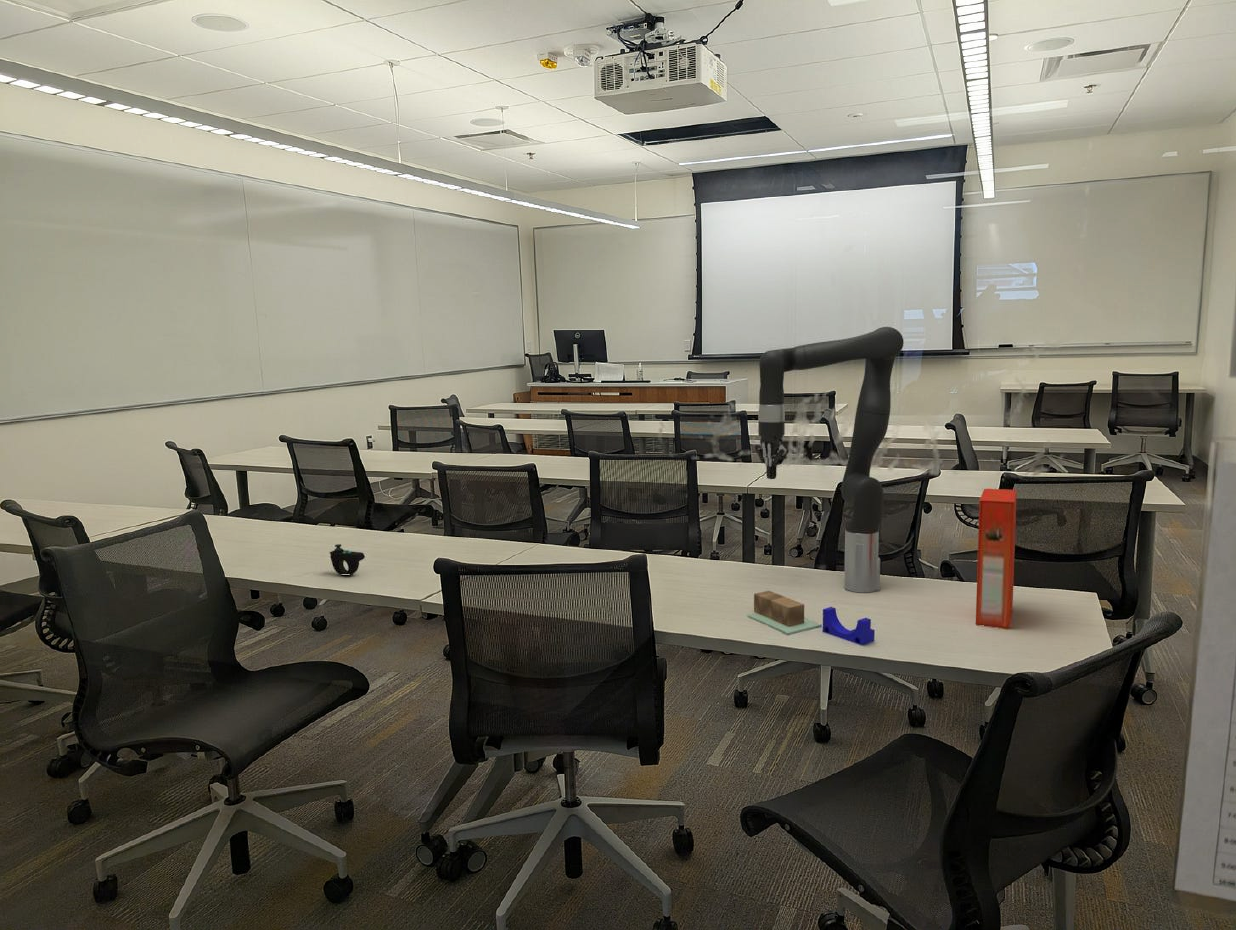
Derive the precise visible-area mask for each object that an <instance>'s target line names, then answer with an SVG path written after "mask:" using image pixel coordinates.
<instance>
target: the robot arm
mask: <svg viewBox="0 0 1236 930" xmlns="http://www.w3.org/2000/svg"><path fill="white" fill-rule="evenodd" d="M904 341H905V340H904V337H903V335H902V333H901V332H900V331H899V330H897V329H896V328H894V327H892V326H882V327H879V328H877V329H875V330H873V331H870V332H867V333H863V334H860V335H858V336H853V337H849V338H843V339H836V340H835V339H834V340H827V341H821V342H820V341H819V342H814V343H813V342H812V343H807V344H802V345H797V346H794V347H790V348H788V347H787V348H778V349H770V350H767V351H765V352H763V354H762V355H761V356H760V358H759V360H758V361H759V362H758V365H759V381H760V382H759V383H760V385H759V396H758V400H759V401H758V402H759V403H758V404H759V406H758V415H757V416H758V419H757V420H758V427H757V429H758V430H757V432H758V436H759V437H760V440H759V442H760V443H759V444H758V445H755V446H754V450H755V451H756V454H757V455H758V458H759V460H760V462H761V464H764V465H765V466H766V472H765V473H766V478H767V479H769V480H775V479H777V467H778V466H779V465H780V466H781V465H783V462H784V461H785V459H786V457H787V455H788V453H789V448H785V446H784V442H783V437H785V430H786V429H785V428H786V427H785V426H786V425H785V423H786V415H785V414H786V413H785V392H784V391H785V390H784V377H785V373H787V372H791V371H803V370H812V369H816V368H817V369H818V368H822V367H827V366H831V365H837V364H841V363H844V362H849V361H854V360H856V361H857V360H864V361H865V364H864V375H863V379H862V380H863V381H862V383H861V387H860V390H859V391H860V392H859V395H858V401H857V406H856V411H855V416H854V423H853V431H852V433H853V434H852V437H851V444H850V449H849V455H848V459H847V464H846V466H845V470H844V475H843V479H842V480H841V481H842V483H841V486H840V487H841V489H840V491H841V493H840V494H841V496H842V499H843V500H844V501H845V502H846V503H847V504H849V505H852V506H853V507H852V516H851V517H849V518H848V519H846V521H845V524H844V525H845V526H844V534H845V535H844V537H845V538H844V580H843V582H844V586H843V587H844V588H845V590H848V591H850V592H855V593H872V592H873V593H874V592H879V591H880V588H881V587H880V586H881V584H880V583H881V558H880V557H879V533H880V532H879V529H880V525H881V523H882V520H883V507H884V489H883V486H882V483H881V482H880V481H879V480H878V479H877V478H875V477H871V476H870V475H871V467H872V463H873V460H874V459H873V458H874V456H875V454H876V452H877V450H878V448H879V447H880V445H881V444H882V442H883V440H884V439H885V436H886V434H887V432H888V427H889V421H890V414H891V404H892V403H891V402H892V401H891V376H892V372H893V367H894V364H895V360H896V357H898V355H900V353H901V351H902V350H903V347H904Z"/></svg>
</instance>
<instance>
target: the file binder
mask: <svg viewBox="0 0 1236 930" xmlns="http://www.w3.org/2000/svg"><path fill="white" fill-rule="evenodd" d="M1017 495H1018V491H1017V489H1005V488H1003V489H1002V488H1001V489H1000V488H983V491H982V494H981V495H980V498H979V503H978V505H979V506H978V508H979V509H978V532H977V533H978V534H977V535H978V536H977V537H978V538H977V541H978V542H977V567H976V568H977V570H976V571H977V572H976V576H977V577H976V597H975V598H976V599H975V600H976V601H975V602H976V604H975V605H976V606H975V607H976V608H975V610H976V611H975V625H976V624H977V625H976V626H979V625H984V626H983V627H987V626H989V628H995V627H998V629H1004V630H1005V629H1006V630H1008V629H1011V624H1012V615H1013V607H1014V606H1013V603H1014V577H1015V555H1016V554H1015V550H1016V525H1017V524H1016V523H1017V521H1016V519H1017V518H1016V517H1017V499H1018V498H1017V497H1018V496H1017ZM990 626H991V627H990Z"/></svg>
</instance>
